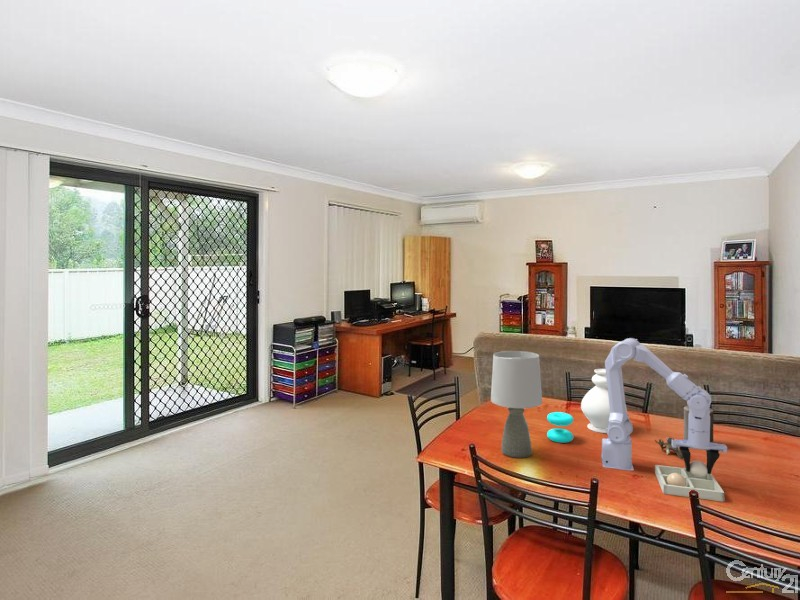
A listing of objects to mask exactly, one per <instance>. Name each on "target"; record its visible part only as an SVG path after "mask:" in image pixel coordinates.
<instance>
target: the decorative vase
mask: <svg viewBox="0 0 800 600" xmlns="http://www.w3.org/2000/svg"><path fill="white" fill-rule="evenodd" d="M593 373H595V374H594V375H592V377H591V382H592V383H593V384H594V385H595V386H593V387H592V388H591V389H590V390H588V391H587V392H586V394H585V395H584V396H583V397H582V400H581V402H580V409H581V411H582V413H583V415H584V416H585V418H587V420H588V421H589V422H590V423H588V424H587V428H588V429H589V430H591V431H592V432H596V433H600V434H607V429H608V427H609V417H610V406H609V397H608V388H607V379H606V370H605V368H596V369H595V368H594V372H593ZM627 408H628V407H627V406H626V412H627V413H628V411H627V410H628V409H627Z"/></svg>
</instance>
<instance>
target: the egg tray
mask: <svg viewBox="0 0 800 600" xmlns="http://www.w3.org/2000/svg"><path fill="white" fill-rule="evenodd" d="M654 473H655V475H656V479H657V481H658V483H659V486H660V488H661V491H662V494H663V495H670V496H676V497H677V496H678V497H685V498H690V497H689V492H690V491H691V490H695V491H697V492H698V493H699V498H700V499H701V500H709V501H715V502H723V503H724V502H725V492H724V490H723V489H722V487H721V485H720V484H719V482H718V481H717V480H716V478H715V476H714V475H713V474H712V473H711V474H708V473H707V475H706V476H704V477H701V478H699V477H695V476H693V475H692V474H691V473H690V472H687V470H686V467H679V466H668V465H661V464H655V465H654ZM671 473H678V474H680V475H682V476H683V477H684V478H685V481H686V486H685V487H683V486H675V485H668V483H667V477H668V475H669V474H671ZM699 498H698V499H699Z"/></svg>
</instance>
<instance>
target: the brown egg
mask: <svg viewBox="0 0 800 600" xmlns="http://www.w3.org/2000/svg"><path fill="white" fill-rule="evenodd" d="M667 483H668V485H675V486H683V487H685V486H686V481H685V478H684V477H683V476H682V475H680V474H678V473H671V474H669V475H668V477H667Z"/></svg>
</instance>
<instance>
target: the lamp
mask: <svg viewBox="0 0 800 600" xmlns="http://www.w3.org/2000/svg"><path fill="white" fill-rule="evenodd" d="M540 363H541V362H540V355H539V354H537V353H536V352H531V351H522V350H521V351H520V350H506V351H503V350H502V351H499V352H494V353H493V355H492V374H491V388H490V391H491V392H490V402H492V404H494V405H496V406H499V407H503V408H507V411H508V412H509V414H508V415H507V418H506V420H505V423H504V427H503V433H502V439H501V446H500V447H501V448H500V449H501V453H502V454H503V455H505V456H507V457H509V458H516V459H523V458H527V457H531V455H532V453H533V452H532V451H533V450H532V441H531V437H530V436H531V435H530V430H529V426H528V422H527V420H526V417H525V415H524V412H525V411H526V410H525V409H531V408H537V407H539V406H541V405H542V404H543V394H542V393H543V392H542V378H541V367H540V366H541V365H540Z"/></svg>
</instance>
